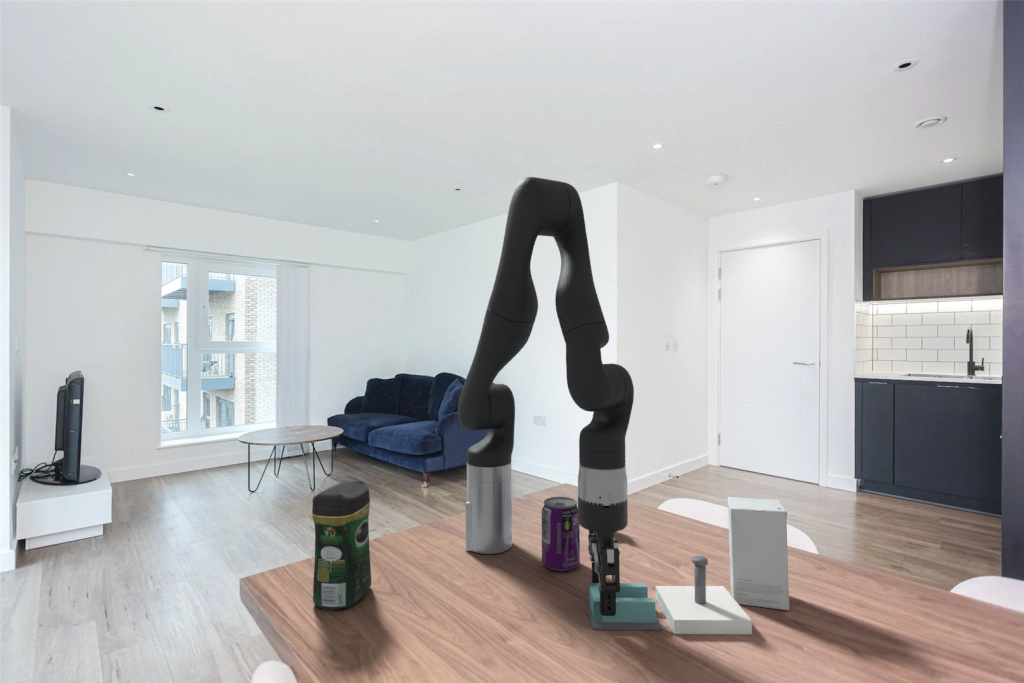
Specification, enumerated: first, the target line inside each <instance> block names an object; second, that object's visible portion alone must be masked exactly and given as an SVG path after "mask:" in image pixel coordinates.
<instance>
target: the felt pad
mask: <svg viewBox="0 0 1024 683" xmlns="http://www.w3.org/2000/svg"><path fill="white" fill-rule="evenodd" d="M585 603H586V607H587V608H586V609H587V612H588V616H589V620H590V625H591V628H592V630H596V631H597V630H601V631H603V630H606V631H607V630H608V631H609V630H613V631H614V630H617V631H619V630H621V631H624V630H627V631H628V630H629V631H631V630H632V631H634V630H635V631H637V630H639V631H641V630H643V631H647V630H648V631H650V630H651V631H662V630H663V629H662V628H663V627H662V625H661V623H660V621H659V619H658V617H657V615H656V614H655V623H644V622H594V619H593V615H592V611H591V607H590V603H589V598H585Z"/></svg>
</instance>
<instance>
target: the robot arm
mask: <svg viewBox="0 0 1024 683" xmlns="http://www.w3.org/2000/svg"><path fill="white" fill-rule="evenodd" d="M508 207H509V208H508V211H507V212H508V214H507V218H506V224H505V229H504V230H505V231H504V236H503V242H502V248H501V253H500V259H499V262H498V267H497V270H496V275H495V280H494V284H493V286H492V290H491V293H490V297H489V300H488V303H487V307H486V310H485V315H484V318H483V324H482V328H481V332H480V334H479V335H480V336H479V340H478V343H477V347H476V350H475V353H474V356H473V359H472V361H471V362H472V363H471V365H470V368H469V369H468V370H469V371H468V373H467V375H466V378H465V380H464V384H463V386H462V389H461V392H460V395H459V399H458V404H457V417H458V421H459V424H460V425H461V427H463V429H465V430H466V431H487V430H488V432H487V434H486V435H485V436H484V438H482V439H481V440H480V441H478V442H477V443H474V444H473V445H471V446H470V447H469V448H467V451H466V487H467V488H466V502H465V551H467V552H474V553H476V554H482V555H494V554H501V553H504V552H507V551H509V550H510V548H511V547H512V545H513V531H512V530H513V522H512V521H513V514H512V512H513V510H512V509H513V508H512V506H513V504H512V500H513V499H512V494H513V493H512V455H513V454H512V453H513V450H514V447H515V446H514V444H515V424H516V423H515V422H516V421H515V419H516V403H515V397H514V394H513V391H512V390H511V388H510V386H508V385H506V384H505V383H496V384H495V383H494V381H495V379H496V377H497V376H498V375H499V373H500V372H501V371H502V370H503V369H504V367H506V366H507V365H508V363H510V362H511V361H512V360H513V359H514V358H515V357H516V356H517V355H518V354H519V353H520V352H521V351H522V349H523V348H524V347H525V345H527V343H528V341H529V339H530V337H531V334H532V331H533V328H534V325H535V322H536V319H537V314H538V310H539V300H538V296H537V294H538V293H537V291H536V288H535V287H536V286H535V283H534V280H533V276H532V271H531V260H532V256H533V252H534V247H535V245H536V241H537V238H538V236H540V237H542V236H543V237H551V238H553V239H554V242H555V243H556V246H557V248H558V251H559V254H560V262H561V263H560V272H559V276H558V277H559V278H558V279H557V280H558V281H557V284H556V285H557V286H556V290H555V296H554V297H555V300H554V301H555V302H554V305H555V311H556V315H557V316H556V317H557V319H558V322H559V323H558V324H559V326H560V330H561V333H562V337H563V339H564V342H565V368H566V384H567V389H568V392H569V394H570V397H571V399H572V401H573V402H574V403H575V405H576V406H578V408H579V409H581V410H582V411H584V412H588V413H589V412H592V418H591V421H590V422H589V423H587V424H586V425H585V426H584V427H583V428H582V429H581V431H579V438H578V440H579V441H578V450H579V452H578V458H579V459H578V460H579V461H578V462H579V464H578V473H577V474H578V475H577V507H578V522H579V524H580V526H581V527H582V528H583V529H585V530H588V535H587V536H588V537H587V539H588V549H587V550H588V553H589V559H590V562H591V583H599V588H600V612H601V615H602V616H614V615H615V614H616V592H620V583H621V582H620V581H621V579H620V577H621V575H620V574H621V573H620V555H621V552H620V550H619V543H618V540H617V539H615V533H616V532H618V531H619V532H620V531H623V530H625V528H627V526H628V525H629V524H628V520H629V518H628V516H629V512H628V509H629V508H628V502H629V501H628V476H627V470H626V469H627V468H626V435H627V431H628V428H629V425H630V419H631V414H632V410H633V404H634V398H635V397H634V395H635V389H634V383H633V379H632V376H631V374H630V372H629V371H628V370H627V368H625V367H624V366H622V365H620V364H618V363H603V360H602V350H601V349H603V348H604V347H605V346H607V344H608V343H609V341H610V333H609V329H608V325H607V323H606V318H605V316H604V313H603V309H602V306H601V303H600V299H599V296H598V294H597V290H596V286H595V281H594V276H593V270H592V264H591V257H590V256H591V255H590V249H589V242H588V240H589V239H588V236H587V228H586V227H587V226H586V221H585V215H584V209H583V204H582V200H581V197H580V195H579V192H578V190H577V189H576V188H575V186H573V185H572V184H570V183H568V182H566V181H565V182H564V181H561V180H554V179H549V178H542V177H536V176H535V177H534V176H527V177H525V178H523V179H522V180H520V181H519V183H517V185H516V187H515V189H514V191H513V193H512V196H511V200H510V203H509V206H508ZM493 383H494V384H493ZM607 576H611V581H610V580H607Z"/></svg>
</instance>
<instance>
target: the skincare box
mask: <svg viewBox="0 0 1024 683" xmlns="http://www.w3.org/2000/svg"><path fill="white" fill-rule="evenodd" d="M727 511H728V512H727V514H728V516H727V518H728V545H729V546H728V547H729V548H728V549H729V551H728V552H729V576H730V577H729V578H730V582H729V584H730V590H731V596H732V597H733V598H734V600H735V601H736V602H737V603H738V604H739V605H741V606H742V605H745V606H752V607H759V608H767V609H774V610H783V611H789V610H790V588H789V586H790V585H789V584H790V582H789V559H788V558H789V553H788V551H789V550H788V524H787V522H788V521H787V520H788V518H787V517H788V512H787V510H786V509H785V507H784V506H783V505H782V503H781V501H780V499H768V498H752V497H736V496H728V497H727Z"/></svg>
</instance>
